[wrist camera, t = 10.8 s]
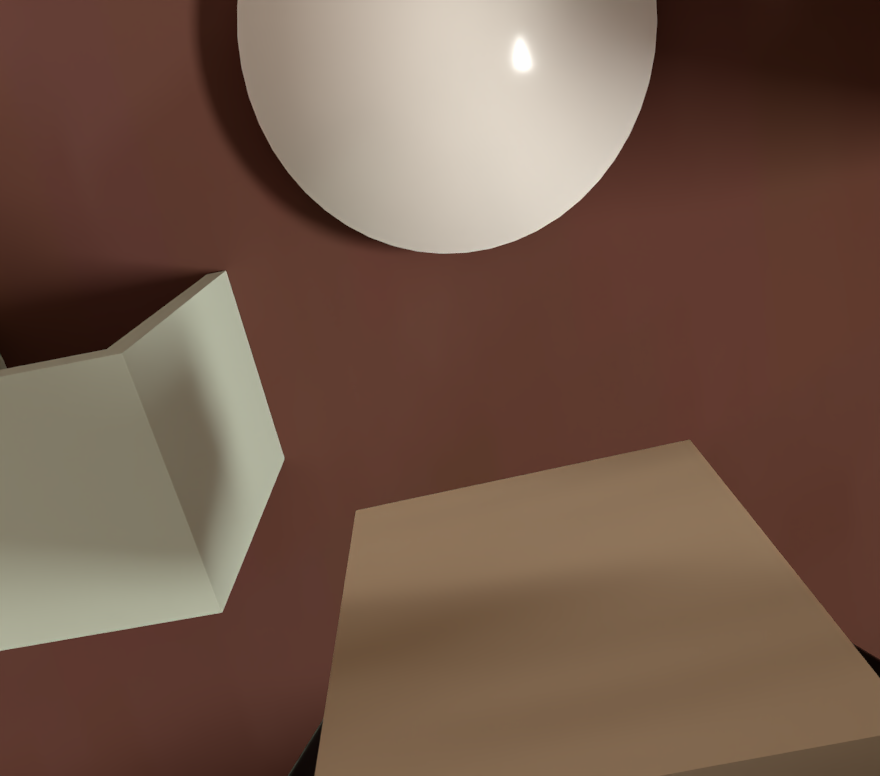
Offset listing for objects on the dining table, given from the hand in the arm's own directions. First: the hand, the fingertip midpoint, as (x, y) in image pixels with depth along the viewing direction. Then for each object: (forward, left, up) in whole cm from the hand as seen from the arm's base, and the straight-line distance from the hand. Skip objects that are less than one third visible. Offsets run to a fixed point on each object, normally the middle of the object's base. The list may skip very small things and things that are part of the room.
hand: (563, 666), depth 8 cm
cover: (+7, +7, -12) cm, 15 cm away
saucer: (+5, -5, -11) cm, 14 cm away
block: (0, 0, -1) cm, 1 cm away
